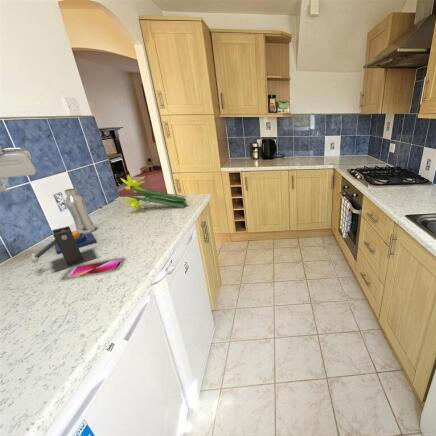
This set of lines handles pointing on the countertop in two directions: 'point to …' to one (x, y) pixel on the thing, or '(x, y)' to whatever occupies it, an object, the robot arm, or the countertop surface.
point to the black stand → (69, 250)
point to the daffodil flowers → (151, 195)
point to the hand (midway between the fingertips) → (1, 191)
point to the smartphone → (96, 268)
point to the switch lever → (43, 250)
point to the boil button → (76, 234)
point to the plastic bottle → (78, 211)
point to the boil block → (80, 241)
